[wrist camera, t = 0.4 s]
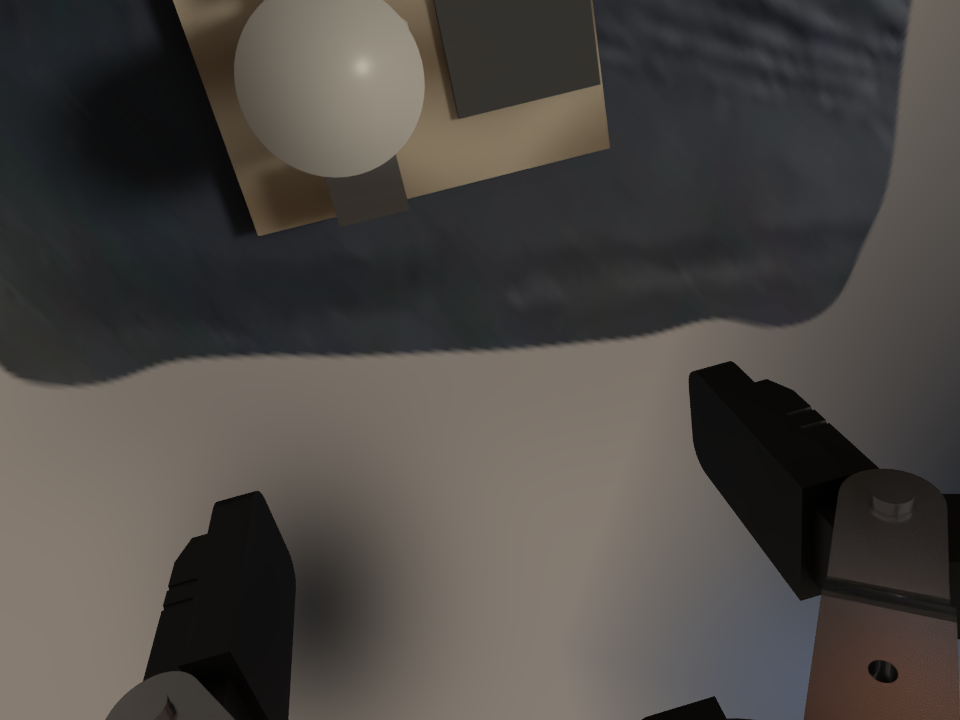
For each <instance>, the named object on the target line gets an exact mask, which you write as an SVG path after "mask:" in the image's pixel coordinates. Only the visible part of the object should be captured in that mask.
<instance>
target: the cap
mask: <svg viewBox="0 0 960 720" xmlns="http://www.w3.org/2000/svg"><path fill="white" fill-rule="evenodd" d="M234 81H235V88H236V94H237V97H238V101H239V104H240V107H241V110H242V112H243V114H244V117H245V119H246V121H247V122H248V124H249V126H250V128H251V130H252V131H253V132H254V134H255V135H256V136H257V138H258V139H259V140H260V141H261V143H262V144H263V145H264V146H265V147H266V148H267V149H268V150H269V151H270V152H272V153H273V154H274V155H275V156H276V157H278V158H279V159H281V160H282V161H284V162H285V163H287V164H288V165H290V166H292V167H294V168H296V169H298V170H301V171H304V172H306V173H309V174H313V175H318V176H322V177H334V178H336V177H349V176H355V175H359V174H362V173H365V172H368V171H371V170H373V169H375V168H377V167H379V166H381V165H382V164H384V163H385V162H387V161H388V160H390V159H391V158H392V157H393V156H394V155H395V154H396V153H398V151H399V150H400V149H401V148H402V147H403V146H404V145H405V143H406V142H407V141H408V139H409V138H410V136H411V135H412V133H413V131H414V129H415V127H416V125H417V122H418V120H419V117H420V114H421V110H422V105H423V101H424V97H425V96H424V90H425V82H424V70H423V64H422V60H421V56H420V53H419V49H418V47H417V45H416V42H415V40H414V38H413V36H412V34H411V32H410V31H409V27H408V23H407V21H405V20H404V19H402V18H401V17H400V16H399V15H398V14H397V13H396V12H395V11H394V10H393V9H392V8H391V7H390V6H389V5H388V4H387V3H386V2H385V1H383V0H264V2H263V3H261V4H260V5H259V6H258V7H257V9H256V10H255V11H254V13H253V14H252V15H251V16H250V18H249V20H248V21H247V23H246V25H245V27H244V28H243V31H242V33H241V36H240V38H239V41H238V45H237V49H236V53H235V61H234Z"/></svg>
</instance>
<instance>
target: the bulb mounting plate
mask: <svg viewBox="0 0 960 720" xmlns="http://www.w3.org/2000/svg"><path fill="white" fill-rule="evenodd" d="M383 1H385V2H386V3H387V4H388V5H389V6H390V7H391V8H392V9H393V10H394V11H395V12H396V13H397V14H398V15H399V16H400V17H401V18H402V19H404V20H405V21H407V23H408V27H409V31H410V32H411V34H412V36H413V38H414V40H415V42H416V45H417V47H418V49H419V53H420V56H421V60H422V64H423V70H424V82H425V90H424V96H425V97H424V101H423V105H422V110H421V114H420V117H419V120H418V122H417V125H416V127H415V129H414V131H413V133H412V135H411V136H410V138H409V139H408V141H407V142H406V143H405V145H404V146H403V147H402V148H401V149H400V150H399V151H398V153H396V154H395V155H394V156H393V157H392V158H391V159H390V160H388V161H387V162H385V163H384V164H382V165H381V166H379V167H377V168H375V169H373V170H371V171H368V172H365V173H362V174H359V175H355V176H349V177H336V178H334V177H322V176H318V175H313V174H309V173H306V172H304V171H301V170H298V169H296V168H294V167H292V166H290V165H288V164H287V163H285V162H284V161H282V160H281V159H279V158H278V157H276V156H275V155H274V154H273V153H272V152H270V151H269V150H268V149H267V148H266V147H265V146H264V145H263V144H262V143H261V141H260V140H259V139H258V138H257V136H256V135H255V134H254V132H253V131H252V130H251V128H250V126H249V124H248V122H247V121H246V119H245V117H244V114H243V112H242V110H241V107H240V104H239V101H238V97H237V94H236V88H235V81H234V61H235V53H236V49H237V45H238V41H239V38H240V36H241V33H242V31H243V28H244V27H245V25H246V23H247V21H248V20H249V18H250V16H251V15H252V14H253V13H254V11H255V10H256V9H257V7H258V6H259V5H260V4H261V3H263V2H264V0H173V2H174V5H175V8H176V10H177V13H178V16H179V19H180V21H181V24H182V27H183V30H184V32H185V35H186V38H187V41H188V44H189V46H190V49H191V52H192V55H193V57H194V60H195V63H196V66H197V68H198V71H199V74H200V77H201V79H202V82H203V85H204V88H205V90H206V93H207V96H208V99H209V102H210V104H211V107H212V110H213V113H214V115H215V118H216V121H217V124H218V126H219V129H220V132H221V135H222V137H223V140H224V143H225V146H226V148H227V151H228V154H229V157H230V160H231V162H232V165H233V168H234V171H235V173H236V176H237V179H238V182H239V184H240V187H241V190H242V193H243V195H244V198H245V201H246V204H247V206H248V209H249V212H250V215H251V218H252V220H253V223H254V226H255V229H256V231H257V234H258V236H261V235H265V234H269V233H273V232H277V231H281V230H285V229H289V228H293V227H297V226H301V225H305V224H309V223H313V222H317V221H321V220H325V219H329V218H333V217H337V219H338V223H339V226H340V227H344V226H348V225H352V224H356V223H360V222H364V221H368V220H372V219H376V218H379V217H383V216H387V215H391V214H395V213H399V212H403V211H407V210H410V208H409V204H408V200H407V199H409V198H413V197H417V196H421V195H425V194H429V193H433V192H437V191H441V190H445V189H449V188H453V187H457V186H461V185H465V184H468V183H472V182H476V181H480V180H484V179H488V178H492V177H496V176H500V175H504V174H508V173H512V172H516V171H520V170H524V169H528V168H532V167H536V166H540V165H544V164H548V163H552V162H556V161H560V160H564V159H568V158H572V157H576V156H580V155H584V154H588V153H592V152H596V151H600V150H604V149H608V148H610V144H609V136H608V128H607V119H606V111H605V102H604V94H603V86H602V77H601V69H600V61H599V52H598V44H597V35H596V27H595V19H594V10H593V2H592V0H591V8H592V16H593V25H594V33H595V41H596V50H597V58H598V66H599V75H600V83H601V84H600V85H596V86H592V87H588V88H584V89H580V90H576V91H572V92H568V93H564V94H560V95H555V96H551V97H547V98H543V99H539V100H535V101H531V102H527V103H523V104H519V105H515V106H511V107H507V108H503V109H498V110H494V111H490V112H486V113H482V114H478V115H474V116H470V117H466V118H462V119H459V118H458V115H457V111H456V106H455V101H454V96H453V92H452V87H451V82H450V78H449V73H448V68H447V63H446V59H445V54H444V49H443V44H442V40H441V35H440V30H439V25H438V21H437V16H436V11H435V7H434V2H433V0H383Z"/></svg>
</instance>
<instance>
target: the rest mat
mask: <svg viewBox="0 0 960 720" xmlns="http://www.w3.org/2000/svg"><path fill="white" fill-rule="evenodd" d="M433 2H434V7H435V11H436V16H437V21H438V25H439V30H440V35H441V40H442V44H443V49H444V54H445V59H446V63H447V68H448V73H449V78H450V82H451V87H452V92H453V96H454V101H455V106H456V111H457V115H458V118H459V119H462V118H466V117H470V116H474V115H478V114H482V113H486V112H490V111H494V110H498V109H503V108H507V107H511V106H515V105H519V104H523V103H527V102H531V101H535V100H539V99H543V98H547V97H551V96H555V95H560V94H564V93H568V92H572V91H576V90H580V89H584V88H588V87H592V86H596V85H600V84H601V83H600V75H599V66H598V58H597V50H596V41H595V33H594V25H593V16H592V8H591V0H433Z"/></svg>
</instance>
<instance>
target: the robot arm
mask: <svg viewBox="0 0 960 720" xmlns="http://www.w3.org/2000/svg"><path fill="white" fill-rule="evenodd" d="M689 394H690V408H691V420H692V433H693V443H694V448H695V451H696V455H697V457H698V460H699V462H700V464H701V466H702V468H703V470H704V472H705V473H706V474H707V476H708V477H709V479H710V480H711V481H712V483H713V484H714V485H715V487H716V488H717V489H718V491H719V492H720V493H721V495H722V496H723V497H724V499H725V500H726V501H727V503H728V504H729V505H730V507H731V508H732V509H733V511H734V512H735V513H736V515H737V516H738V517H739V519H740V520H741V522H742V523H743V524H744V525H745V527H746V528H747V530H748V531H749V532H750V533H751V535H752V536H753V537H754V539H755V540H756V541H757V543H758V544H759V546H760V547H761V548H762V550H763V551H764V552H765V554H766V555H767V556H768V558H769V559H770V560H771V562H772V563H773V564H774V566H775V567H776V568H777V570H778V571H779V572H780V574H781V575H782V577H783V578H784V579H785V581H786V582H787V583H788V584H789V586H790V587H791V588H792V590H793V591H794V593H795V594H796V595H797V597H798V598H799V599H800V600H801V601H802V600H805V599H808V598H812V597H815V596H818V595H821V601H820V608H819V615H818V622H817V629H816V636H815V643H814V650H813V658H812V665H811V672H810V679H809V686H808V693H807V700H806V707H805V715H804V720H960V698H959V668H958V641H957V640H958V639H960V494H942V493H941V492H940V491H939V490H938V489H937V488H936V487H935V486H934V485H933V484H931V483H930V482H928V481H927V480H925V479H923V478H921V477H919V476H916V475H914V474H911V473H908V472H904V471H899V470H894V469H879V468H878V467H877V466H876V465H875V464H874V463H873V462H871V461H870V460H869V459H868V458H867V457H866V456H865V455H864V454H863V453H862V452H860V451H859V450H858V449H857V448H856V447H855V446H854V445H853V444H852V443H851V442H850V441H848V440H847V439H846V438H845V437H844V436H843V435H842V434H841V433H840V432H839V431H837V430H836V429H835V428H834V427H833V426H832V425H831V424H830V423H828V424H827V423H826V420H825V419H824V418H823V417H822V416H821V415H820V414H819V413H818V412H817V411H815V410H812V409H811V406H810V405H809V404H808V403H807V402H806V401H804V400H803V399H802V398H801V397H800V396H799V395H798V394H797V393H796V392H795V391H793V390H791V389H789V388H786V387H784V386H782V385H780V384H777V383H775V382H772V381H770V380H767V379H766V380H762V381H758V382H754V381H753V380H752V379H751V378H750V377H749V376H747V374H746V373H744V372H743V371H742V370H741V369H740V368H739V367H738V366H737V365H736V364H735V363H734V362H732V361H729V362H726V363H722V364H718V365H714V366H711V367H707V368H704V369H700V370H696V371H693V372H691V373H690V375H689ZM168 587H169V591H167V593H166V597H165V601H164V604H163V607H164V610H163V611H162V612H161V616H160V619H159V623H158V627H157V631H156V634H155V638H154V642H153V646H152V649H151V653H150V657H149V661H148V664H147V668H146V672H145V676H144V680H143V682H141V683H140V684H138V685H137V686H135V687H134V688H133V689H131V690H130V691H129V692H128V693H127V694H125V695H124V696H123V697H122V698H121V699H120V700H119V702H118V703H117V704H116V705H115V706H114V707H113V709H112V710H111V712H110V713H109V715H108V716H107V718H106V720H288V715H289V698H290V681H291V663H292V646H293V629H294V611H295V595H296V579H295V572H294V567H293V563H292V560H291V556H290V553H289V551H288V549H287V547H286V544H285V542H284V540H283V538H282V536H281V533H280V531H279V529H278V527H277V525H276V522H275V520H274V518H273V516H272V514H271V511H270V509H269V507H268V505H267V503H266V501H265V498H264V497H263V495H262V494H261V493H260V492H259V491H254V492H251V493H248V494H244V495H240V496H236V497H233V498H229V499H226V500H222V501H218V502H216V503H215V505H214V507H213V511H212V516H211V521H210V525H209V530H208V534H205V535H201V536H198V537H194V538H192V539H191V540H190V542H189V543H188V545H187V546H186V547H185V549H184V550H183V551H182V553H181V554H180V556H179V557H178V559H177V560H176V561H175V563H174V567H173V570H172V574H171V578H170V582H169V585H168ZM642 720H751V719H738V718H737V719H726V717H725V715H724V713H723V711H722V709H721V707H720V705H719V703H718V702H717V700H716V698H715V696H714V697H710V698H707V699H704V700H701V701H698V702H694V703H691V704H687V705H684V706H681V707H677V708H675V709H671V710H668V711H664V712H661V713H658V714H654V715H651V716H648V717H645V718H644V719H642Z"/></svg>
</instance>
